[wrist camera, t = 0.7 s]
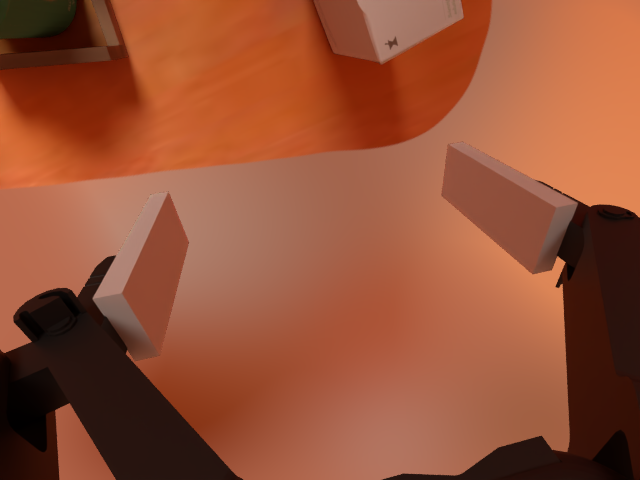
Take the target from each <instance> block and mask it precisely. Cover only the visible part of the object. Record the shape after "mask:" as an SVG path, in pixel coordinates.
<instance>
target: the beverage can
mask: <svg viewBox="0 0 640 480" xmlns="http://www.w3.org/2000/svg"><path fill="white" fill-rule="evenodd" d="M76 4H77V0H0V39H7V38H42V37H51V36H54V35H57V34H59V33H61V32H63V31H64V30H65V29H66V28H67V27H68V26H69V25H70V23H71V22H72V20H73V18H74V16H75V12H76Z"/></svg>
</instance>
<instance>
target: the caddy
mask: <svg viewBox="0 0 640 480" xmlns="http://www.w3.org/2000/svg"><path fill="white" fill-rule="evenodd" d="M91 1H92V3H93V6H94V9H95V12H96V14H97V17H98V20H99V23H100V25H101V28H102V31H103V34H104V36H105V39H106V42H107V45H108V46H100V47H88V48H75V49H62V50H49V51H36V52H23V53H11V54H0V70H2V69H14V68H26V67H38V66H50V65H62V64H74V63H86V62H98V61H110V60H115V59H120V58H125V57H129V56H128V53H127V50H126V47H125V44H124V41H123V38H122V35H121V32H120V29H119V26H118V24H117V21H116V18H115V15H114V12H113V9H112V6H111V3H110V0H91Z"/></svg>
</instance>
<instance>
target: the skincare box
mask: <svg viewBox="0 0 640 480" xmlns="http://www.w3.org/2000/svg"><path fill="white" fill-rule="evenodd" d="M313 1H314V4H315V7H316V9H317V12H318V15H319V17H320V20H321V22H322V25H323V28H324V30H325V33H326V36H327V38H328V41H329V43H330V46H331V48H332V50H333V53H335V54H339V55H345V56H350V57H355V58H359V59H365V60H370V61H374V62H377V63H379V64H384V63H385V62H387V61H389V60H391V59H393V58H394V57H396V56H398V55H400V54H402V53H403V52H405V51H407V50H409V49H410V48H412V47H414V46H416V45H417V44H419V43H421V42H423V41H424V40H426V39H428V38H430V37H431V36H433V35H435V34H437V33H438V32H440V31H442V30H444V29H445V28H447V27H449V26H451V25H452V24H454V23H456V22H458V21H459V20H461V19H463V18H464V16H463V10H462V4H461V0H313Z"/></svg>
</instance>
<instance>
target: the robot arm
mask: <svg viewBox="0 0 640 480" xmlns="http://www.w3.org/2000/svg"><path fill="white" fill-rule="evenodd" d="M442 196H443V197H444V198H445V199H446V200H447V201H448V202H450V203H451V204H452V205H453V206H454V207H455V208H457V209H458V210H459V211H460V212H461V213H462V214H463V215H465V216H466V217H467V218H468V219H469V220H470V221H472V222H473V223H474V224H475V225H476V226H477V227H479V228H480V229H481V230H482V231H483V232H484V233H485V234H487V235H488V236H489V237H490V238H491V239H493V240H494V241H495V242H496V243H497V244H498V245H499V246H500V247H502V248H503V249H504V250H506V252H507V253H509V254H510V255H511V256H512V257H513V258H514V259H516V260H517V261H518V262H519V263H520V264H521V265H523V266H524V267H525V268H526V269H527V270H528V271H529V272H531V273H532V274H536V273H541V272H545V271H550V270H552V268H553V266H554V263H555V261H556V258H557V256H559V257H560V258H561V259H562V260H564V261H565V262H566V263H565V265H564V268H563V270H562V272H561V275H560V277H559V279H558V282H557V284H556V287H557V288H559V287H560V285H561V284H563V298H564V299H563V300H564V321H565V343H566V363H567V385H568V406H569V426H570V442H569V448H568V452H562V451H556V450H552V449H551V448H550V446H549V445H548V444H547V442H546V441H545V440H544V438H543V437H542V436H539V437H535V438H531V439H528V440H524V441H521V442H517V443H514V444H510V445H506V446H502V447H499V448H497V449H496V450H494V451H493V452H492V453H490V454H489V455H487V456H486V457H485V458H483V459H482V460H480V461H479V462H478V463H476V464H475V465H474V466H472V467H471V468H469V469H468V470H467V471H465V472H464V473H462V474H460V475H456V476H451V475H450V476H449V475H423V474H401V475H397V476H393V477H390V478H386V479H383V480H640V218H639V217H638V216H637V215H636V214H635V213H633V212H631V211H629V210H627V209H624V208H621V207H618V206H612V205H593V206H591V207H589V206H587V205H585V204H583V203H581V202H580V201H578V200H576V199H574V198H572V197H570V196H568V195H566V194H564V193H563V194H562V192H561V191H559V190H557V189H553V187H551V186H549V185H547V184H545V183H543V182H541V181H537V180H534V179H532V178H530V177H528V176H526V175H524V174H522V173H521V172H519V171H517V170H515V169H513V168H511V167H509V166H507V165H506V164H504V163H502V162H500V161H498V160H496V159H494V158H492V157H491V156H489V155H487V154H485V153H483V152H481V151H479V150H477V149H476V148H474V147H472V146H470V145H468V144H466V143H464V142H458V143H452V144H448V149H447V156H446V164H445V172H444V180H443V188H442ZM188 244H189V242H188V239H187V236H186V234H185V231H184V229H183V227H182V224H181V221H180V219H179V216H178V214H177V211H176V209H175V206H174V204H173V201H172V199H171V197H170V194H169V192H162V193H157V194H151V195H150V196H149V198H148V200H147V202H146V203H145V205H144V207H143V209H142V211H141V212H140V214H139V216H138V218H137V220H136V221H135V223H134V225H133V227H132V229H131V230H130V232H129V234H128V236H127V238H126V239H125V241H124V243H123V245H122V247H121V248H120V250H119V252H118V254H117V255H116V256H110V257H107V258H106V259H104V260H103V261H102V262H101V263H100V264H99V265H97V267H96V268H95V269H94V271H93V272H92V274H91V276H90V279H88V281H87V282H86V284H85V287H83V289H82V290H81V292H80V294H79V295H78V297H76V296H75V294H74V293H73V292H72V290H70V289H68V288H57V289H53V290H49V291H46V292H44V293H41V294H39V295H37V296H35V297H34V298H32V299H30V300H29V301H27V302H26V303H24V305H22V306H21V307H20V308H19V309H18V310H17V312H16V313H15V315H14V317H13V318H14V323H15V324H16V325H17V326H18V327H19V328H20V329H21V330H22V331H23V332H24V334H25V335H26V336H27V337H28V338H29V339H30V340H31V341H32V342H31V343H28V344H26V345H24V346H21V347H18V348H16V349H14V350H11V351H9V352H6V353H3V352H2V351H1V350H0V480H59V466H58V450H57V433H56V416H55V410H56V409H58V408H60V407H62V406H64V405H66V404H69V403H70V404H71V406H72V408H73V409H74V411H75V413H76V414H77V416H78V418H79V419H80V421H81V422H82V424H83V426H84V427H85V429H86V431H87V432H88V434H89V436H90V437H91V439H92V440H93V442H94V444H95V446H96V447H97V449H98V450H99V452H100V454H101V456H102V457H103V459H104V460H105V462H106V464H107V465H108V467H109V469H110V470H111V472H112V474H113V475H114V477H115V479H116V480H243V479H242V478H240V477H237V476H236V475H235V474H234V473H233V472H232V471H231V470H230V469H229V468H228V466H227V465H226V464H225V463H224V462H223V461H222V460H221V459H220V458H219V457H218V455H217V454H216V453H215V452H214V451H213V450H212V449H211V448H210V446H209V445H207V443H206V442H205V441H204V440H203V439H202V438H201V437H200V436H199V434H198V433H197V432H196V431H195V430H194V429H193V428H192V427H191V426H190V425H189V424H188V422H187V421H186V420H185V419H184V418H183V417H182V416H181V415H180V414H179V412H178V411H177V410H176V409H175V408H174V407H173V406H172V405H171V404H170V402H169V401H168V400H167V399H166V398H165V397H164V396H163V395H162V394H161V393H160V391H159V390H158V389H157V388H156V387H155V386H154V385H153V384H152V383H151V382H150V380H149V379H147V377H146V376H145V375H144V374H143V373H142V372H141V370H140V369H139V368H138V367H137V366H136V365H135V364H134V363H133V362H132V361H131V359H130V358H129V357H128V356H127V355H126V352H127V350H128V352H129V353H130V355H131V356H132V357H133V359H134V360H135V361H138V360H143V359H147V358H152V357H157V356H160V353H161V349H162V345H163V341H164V338H165V334H166V330H167V326H168V322H169V318H170V314H171V310H172V306H173V303H174V298H175V295H176V291H177V287H178V283H179V279H180V275H181V271H182V267H183V263H184V260H185V256H186V252H187V248H188Z"/></svg>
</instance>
